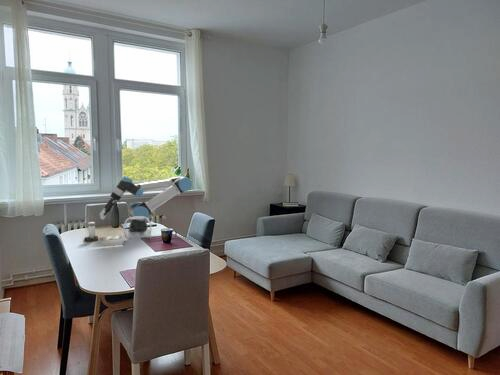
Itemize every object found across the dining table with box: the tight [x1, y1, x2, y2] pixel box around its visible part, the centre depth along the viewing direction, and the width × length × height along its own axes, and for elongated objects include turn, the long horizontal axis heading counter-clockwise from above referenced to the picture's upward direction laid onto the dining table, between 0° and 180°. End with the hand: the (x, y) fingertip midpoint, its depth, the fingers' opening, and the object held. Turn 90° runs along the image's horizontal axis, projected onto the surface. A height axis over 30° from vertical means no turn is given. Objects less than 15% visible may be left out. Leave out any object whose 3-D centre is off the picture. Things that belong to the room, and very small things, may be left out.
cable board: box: [82, 235, 123, 243], centre depth 260 cm, size 26×10×4 cm, turn 115°
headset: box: [122, 216, 152, 240], centre depth 262 cm, size 20×7×18 cm, turn 106°
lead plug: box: [87, 221, 96, 239], centre depth 256 cm, size 5×5×13 cm
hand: (101, 217), depth 271 cm, fingers open, 13 cm apart
